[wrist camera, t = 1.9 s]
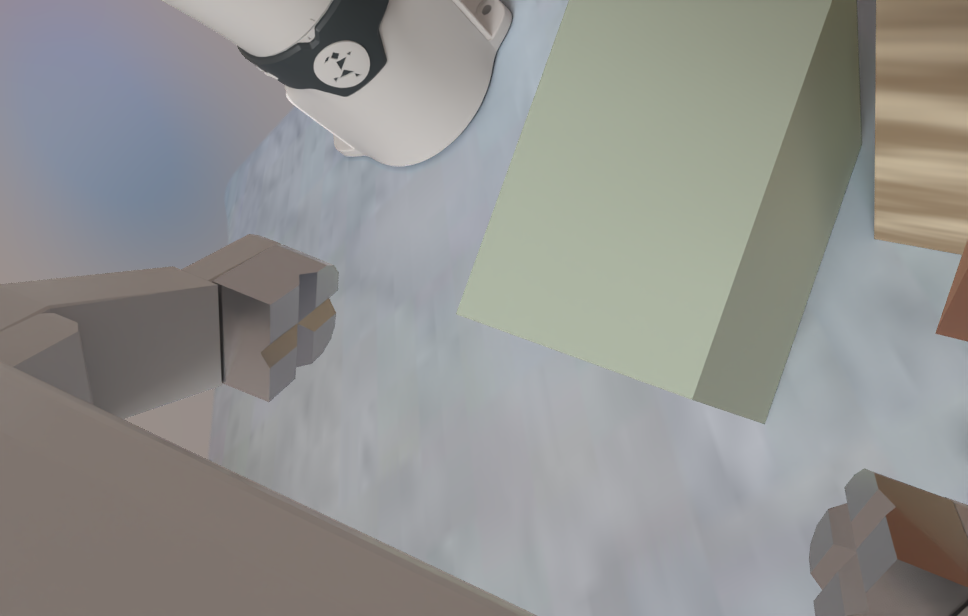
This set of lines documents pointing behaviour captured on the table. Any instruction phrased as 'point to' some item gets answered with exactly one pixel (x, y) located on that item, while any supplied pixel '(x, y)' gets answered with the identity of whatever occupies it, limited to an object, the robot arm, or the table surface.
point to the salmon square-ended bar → (957, 304)
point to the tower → (922, 123)
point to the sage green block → (677, 191)
